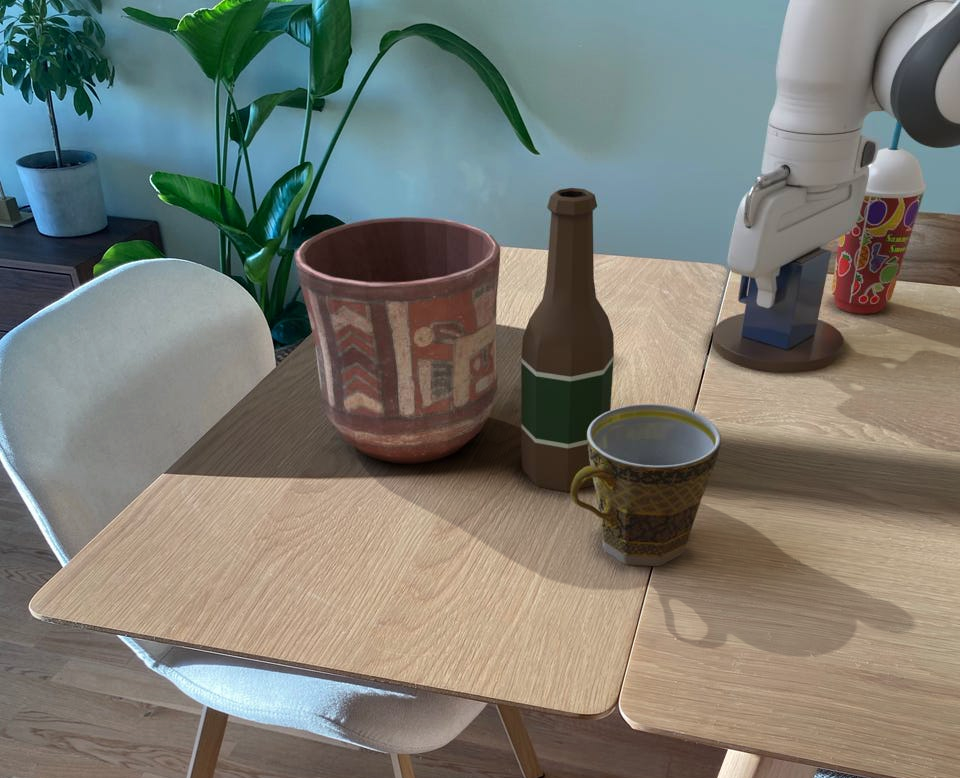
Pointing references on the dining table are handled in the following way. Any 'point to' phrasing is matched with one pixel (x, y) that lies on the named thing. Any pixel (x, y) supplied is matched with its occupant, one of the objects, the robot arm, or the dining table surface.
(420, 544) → the dining table surface
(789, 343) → the mug
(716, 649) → the dining table surface
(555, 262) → the beer bottle
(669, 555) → the ceramic cup
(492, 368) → the pottery
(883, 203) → the smoothie
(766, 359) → the coaster
